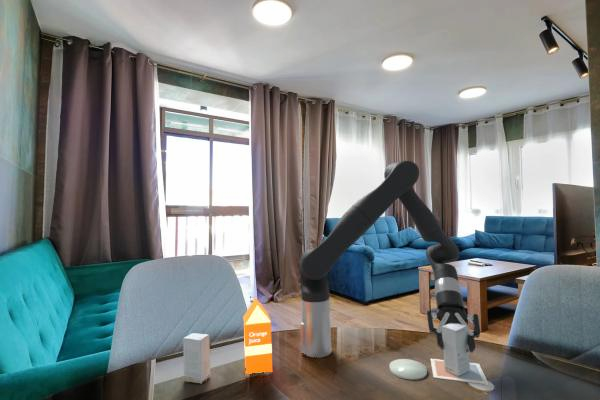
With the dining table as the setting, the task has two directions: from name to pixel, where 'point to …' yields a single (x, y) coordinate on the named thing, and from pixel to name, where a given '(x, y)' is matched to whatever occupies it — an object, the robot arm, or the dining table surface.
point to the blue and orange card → (471, 376)
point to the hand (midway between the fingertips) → (456, 349)
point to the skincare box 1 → (196, 356)
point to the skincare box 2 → (455, 348)
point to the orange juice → (257, 339)
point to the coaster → (408, 369)
